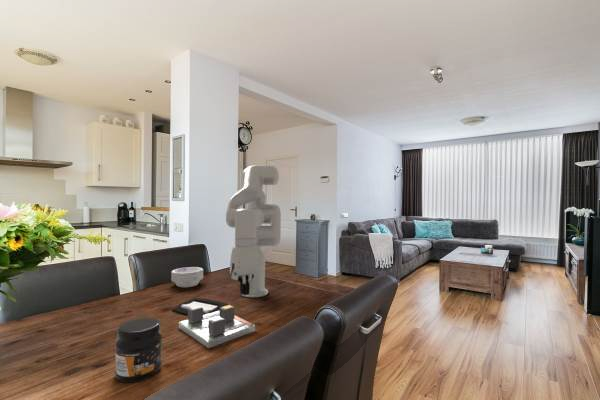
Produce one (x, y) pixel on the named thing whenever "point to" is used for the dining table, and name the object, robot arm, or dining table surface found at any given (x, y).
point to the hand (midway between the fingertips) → (244, 294)
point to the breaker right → (216, 326)
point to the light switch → (206, 304)
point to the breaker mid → (227, 312)
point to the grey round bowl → (187, 276)
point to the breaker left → (195, 314)
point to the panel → (232, 331)
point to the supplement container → (138, 349)
